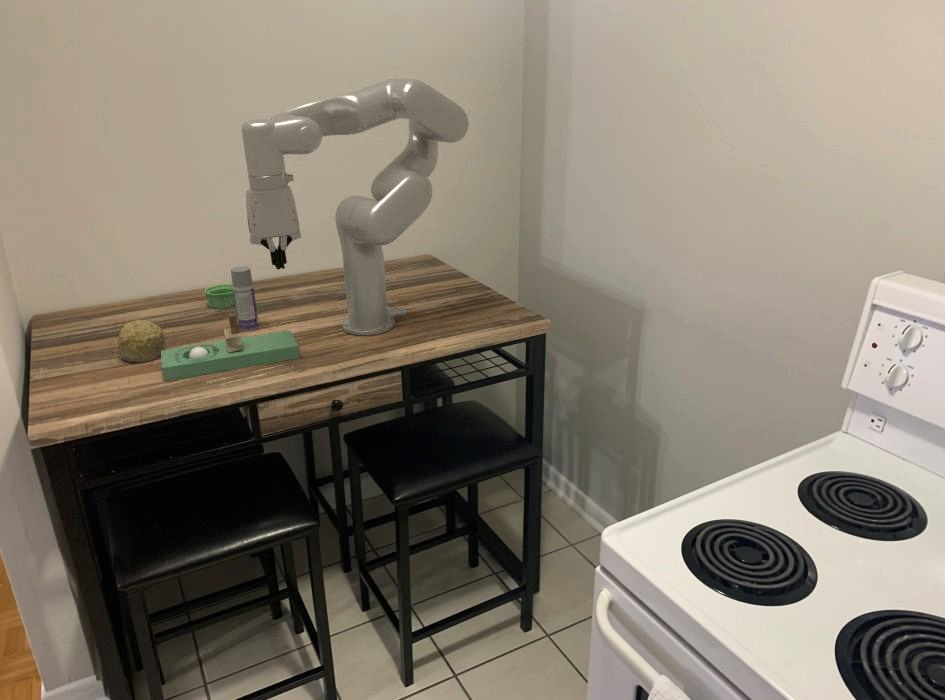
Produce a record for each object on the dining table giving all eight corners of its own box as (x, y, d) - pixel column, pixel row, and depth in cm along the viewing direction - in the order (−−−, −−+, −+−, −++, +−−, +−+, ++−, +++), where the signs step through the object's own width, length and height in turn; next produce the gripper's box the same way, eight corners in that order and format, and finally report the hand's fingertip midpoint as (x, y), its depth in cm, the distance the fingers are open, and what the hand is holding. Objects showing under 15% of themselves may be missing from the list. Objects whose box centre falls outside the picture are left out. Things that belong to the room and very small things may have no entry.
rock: (161, 358, 172) (140, 321, 171) (179, 346, 164) (156, 307, 163) (124, 376, 165) (101, 337, 164) (140, 364, 157) (116, 323, 156)
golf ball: (194, 364, 160) (211, 355, 161) (196, 371, 157) (213, 362, 158) (185, 349, 158) (202, 341, 159) (185, 356, 155) (203, 347, 156)
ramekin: (246, 298, 200) (243, 283, 198) (235, 309, 192) (233, 294, 190) (213, 298, 200) (211, 283, 199) (201, 310, 192) (199, 294, 190)
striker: (239, 340, 163) (234, 310, 161) (242, 349, 158) (237, 318, 155) (225, 342, 162) (220, 312, 159) (228, 352, 157) (223, 321, 154)
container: (246, 323, 182) (237, 265, 176) (262, 325, 181) (254, 266, 175) (235, 330, 178) (226, 271, 172) (252, 332, 177) (243, 272, 171)
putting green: (291, 342, 170) (290, 330, 169) (299, 358, 162) (298, 345, 161) (163, 363, 161) (160, 350, 160) (164, 381, 152) (161, 368, 151)
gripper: (300, 176, 157) (310, 258, 164) (228, 183, 152) (242, 267, 159) (307, 181, 151) (317, 267, 158) (233, 189, 145) (247, 277, 153)
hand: (279, 267), depth 159 cm, fingers closed
